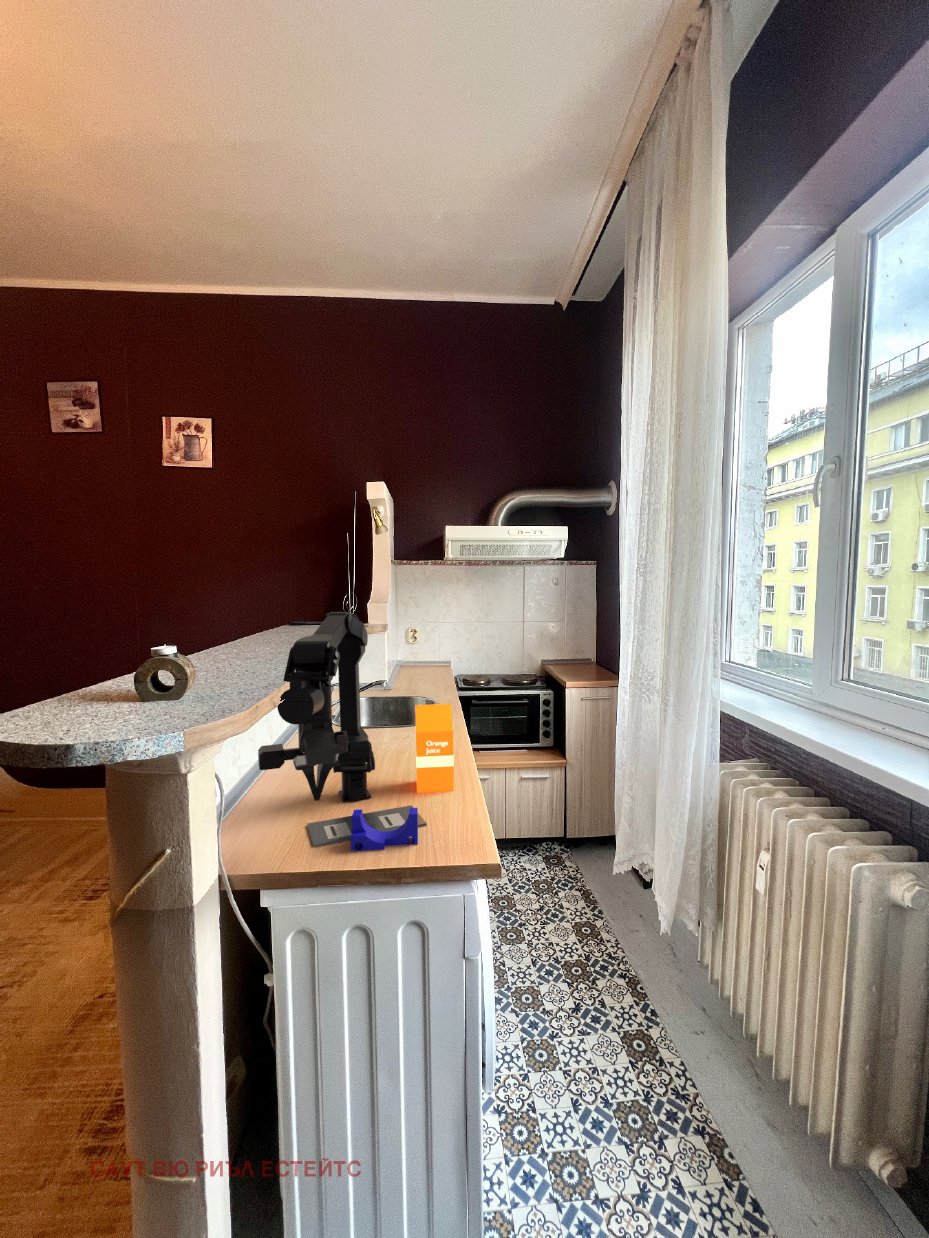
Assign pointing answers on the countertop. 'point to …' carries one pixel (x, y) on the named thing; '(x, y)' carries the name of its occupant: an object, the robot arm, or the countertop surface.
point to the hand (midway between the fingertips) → (316, 800)
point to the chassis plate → (342, 827)
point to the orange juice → (434, 748)
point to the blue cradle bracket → (382, 833)
